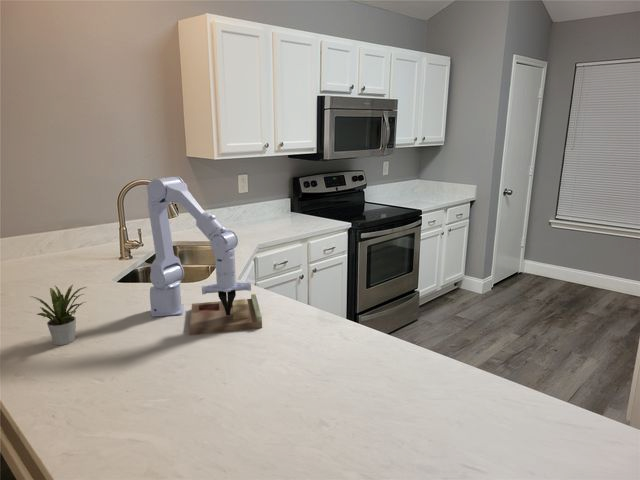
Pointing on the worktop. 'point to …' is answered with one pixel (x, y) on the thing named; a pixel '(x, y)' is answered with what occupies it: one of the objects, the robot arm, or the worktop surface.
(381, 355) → the worktop surface
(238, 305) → the maple block
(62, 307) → the house plant
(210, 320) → the trap deck
